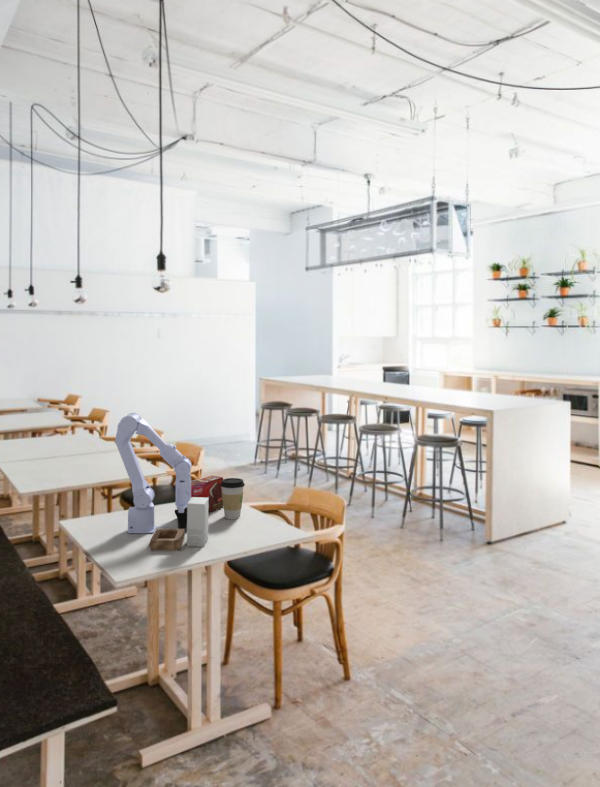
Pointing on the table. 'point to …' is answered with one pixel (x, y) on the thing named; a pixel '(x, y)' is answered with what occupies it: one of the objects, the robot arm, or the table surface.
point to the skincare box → (197, 521)
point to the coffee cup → (232, 497)
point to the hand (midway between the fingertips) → (183, 526)
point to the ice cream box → (209, 491)
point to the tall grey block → (179, 527)
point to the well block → (167, 539)
